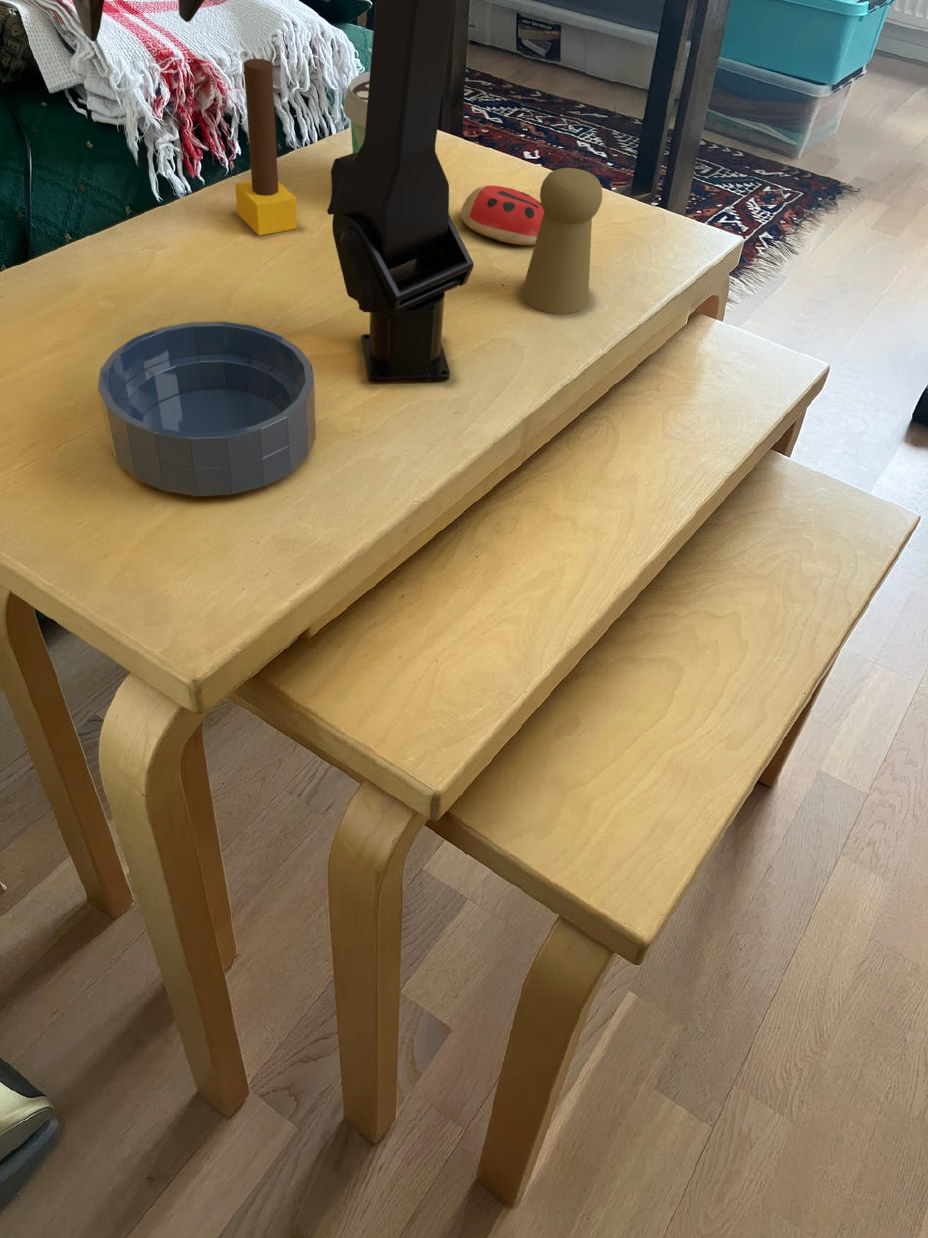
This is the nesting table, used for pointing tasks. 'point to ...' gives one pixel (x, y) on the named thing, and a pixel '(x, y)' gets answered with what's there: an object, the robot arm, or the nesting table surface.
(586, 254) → the olive brown pawn
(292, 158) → the nesting table surface
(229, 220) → the nesting table surface
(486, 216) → the ladybug figurine
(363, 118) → the food container
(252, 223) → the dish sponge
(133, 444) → the bowl
